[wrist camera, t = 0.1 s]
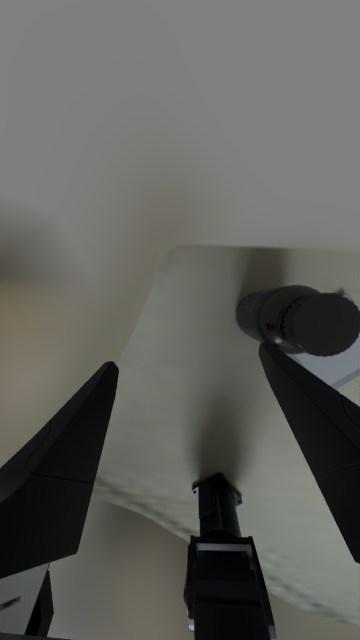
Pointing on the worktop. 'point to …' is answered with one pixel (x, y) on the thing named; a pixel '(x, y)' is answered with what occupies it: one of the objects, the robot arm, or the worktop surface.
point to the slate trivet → (333, 364)
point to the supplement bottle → (300, 320)
